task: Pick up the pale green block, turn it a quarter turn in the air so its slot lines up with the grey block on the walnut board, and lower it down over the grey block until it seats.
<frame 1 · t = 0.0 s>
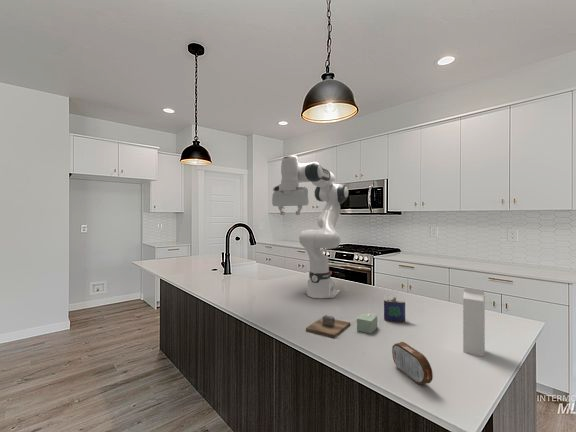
hand: (290, 215, 150), 48 cm above the counter, tool pointing down, fingers open, 8 cm apart
board: (328, 327, 126), on the counter
milk: (474, 351, 104), on the counter
tin: (410, 376, 89), on the counter
flask: (394, 321, 134), on the counter
pale green block: (367, 328, 125), on the counter
grey block: (328, 327, 126), resting on board
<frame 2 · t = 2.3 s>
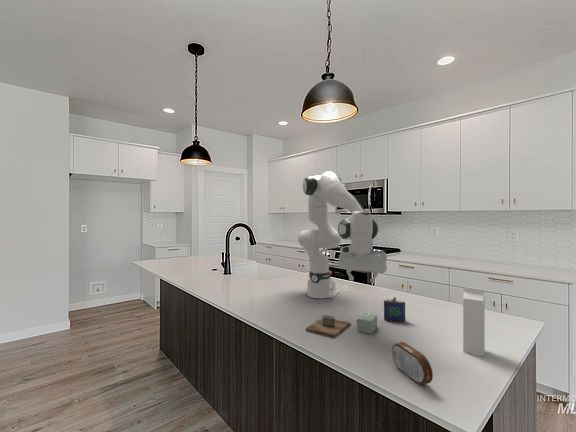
hand: (361, 281, 125), 20 cm above the counter, tool pointing down, fingers open, 8 cm apart
nothing on the counter moved.
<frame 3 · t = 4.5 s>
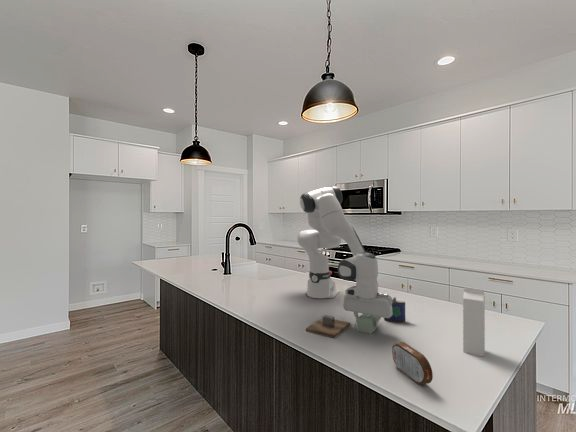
hand: (367, 324, 125), 2 cm above the counter, tool pointing down, fingers closed on pale green block, 6 cm apart
pale green block: (367, 328, 125), on the counter, touching gripper
everything else where it was.
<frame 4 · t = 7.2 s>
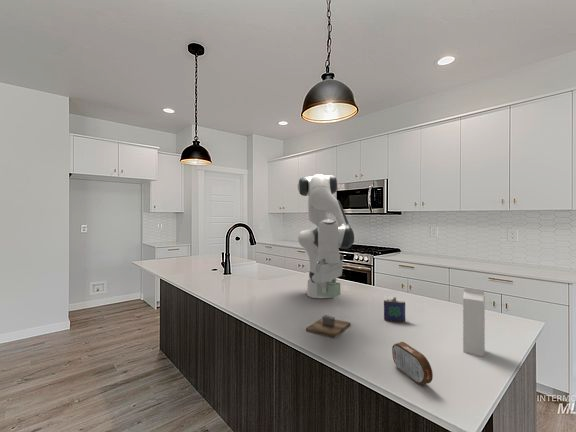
hand: (328, 290, 126), 16 cm above the counter, tool pointing down, fingers closed on pale green block, 6 cm apart
pale green block: (328, 294, 126), point 14 cm above the counter, touching gripper
everything else where it was.
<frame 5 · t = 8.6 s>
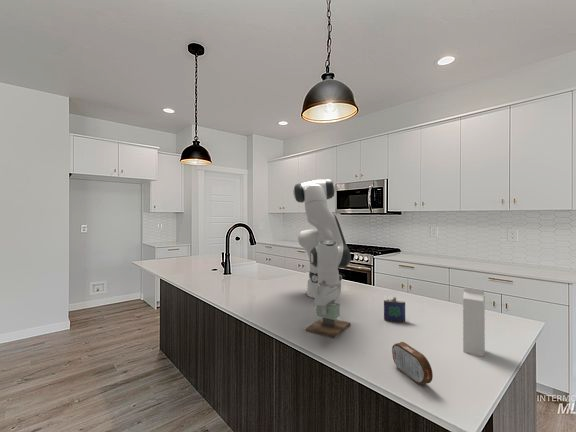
hand: (328, 311, 126), 7 cm above the counter, tool pointing down, fingers closed on pale green block, 6 cm apart
pale green block: (328, 316, 126), point 5 cm above the counter, touching gripper
everything else where it was.
when the fingers open (4 cm above the counter, at t = 9.6 s): pale green block stays where it is, resting on board.
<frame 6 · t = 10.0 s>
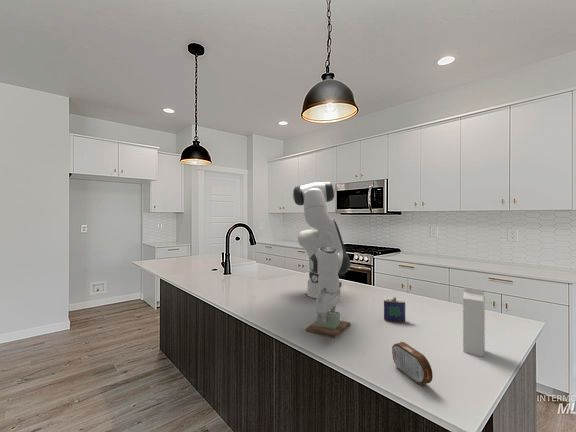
hand: (328, 318, 126), 4 cm above the counter, tool pointing down, fingers open, 8 cm apart
pale green block: (328, 325, 126), point 1 cm above the counter, touching board
everything else where it was.
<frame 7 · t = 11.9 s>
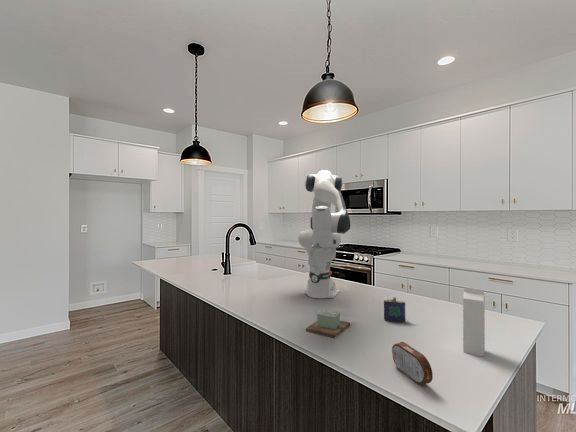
hand: (322, 272, 134), 22 cm above the counter, tool pointing down, fingers open, 8 cm apart
nothing on the counter moved.
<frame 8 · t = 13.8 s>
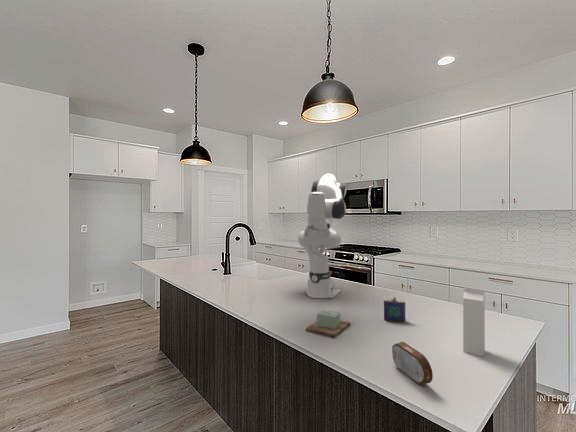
hand: (317, 254, 142), 29 cm above the counter, tool pointing down, fingers open, 8 cm apart
nothing on the counter moved.
at the end: pale green block 0.1 cm off-centre on the grey block, point 1.2 cm above the grey block's base; pale green block tilted 0°; the gripper is holding nothing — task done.
